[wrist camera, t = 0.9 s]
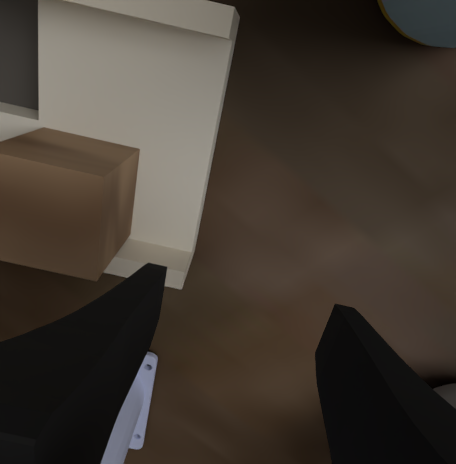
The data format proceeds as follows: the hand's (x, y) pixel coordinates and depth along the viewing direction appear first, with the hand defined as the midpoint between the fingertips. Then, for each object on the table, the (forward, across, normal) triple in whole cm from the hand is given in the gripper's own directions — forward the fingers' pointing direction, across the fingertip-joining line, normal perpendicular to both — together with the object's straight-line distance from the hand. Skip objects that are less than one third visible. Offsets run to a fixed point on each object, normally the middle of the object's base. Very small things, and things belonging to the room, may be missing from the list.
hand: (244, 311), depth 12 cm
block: (+7, +8, 0) cm, 11 cm away
